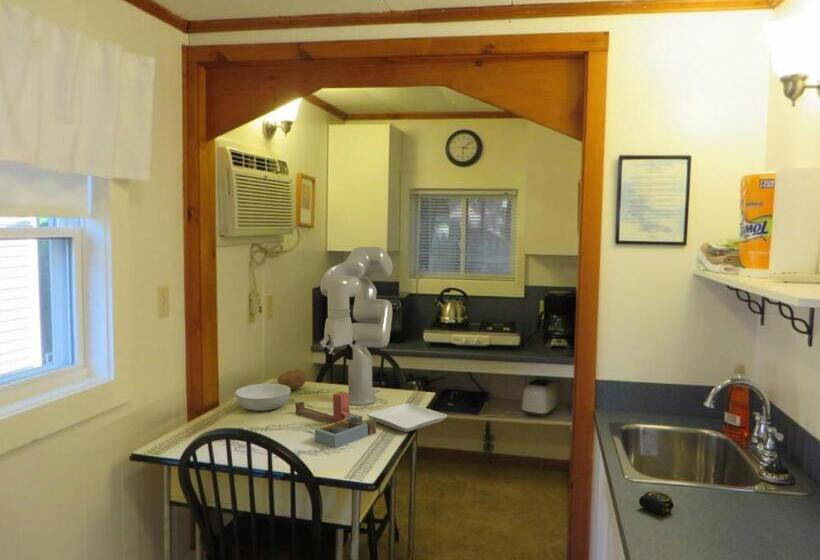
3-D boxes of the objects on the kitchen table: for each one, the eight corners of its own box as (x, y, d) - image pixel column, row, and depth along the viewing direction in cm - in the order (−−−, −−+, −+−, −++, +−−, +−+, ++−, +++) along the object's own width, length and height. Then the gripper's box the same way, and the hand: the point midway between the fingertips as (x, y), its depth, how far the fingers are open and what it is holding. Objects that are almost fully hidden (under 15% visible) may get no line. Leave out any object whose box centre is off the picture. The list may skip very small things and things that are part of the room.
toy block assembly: (341, 421, 227) (341, 391, 226) (363, 427, 220) (363, 397, 219) (305, 433, 214) (304, 402, 213) (327, 440, 207) (327, 408, 206)
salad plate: (449, 423, 228) (449, 413, 227) (406, 437, 213) (406, 427, 212) (407, 410, 243) (407, 402, 242) (365, 423, 228) (365, 413, 228)
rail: (301, 411, 240) (301, 401, 240) (375, 433, 216) (375, 421, 216) (295, 413, 238) (295, 403, 237) (369, 435, 214) (369, 423, 213)
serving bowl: (224, 412, 240) (223, 394, 240) (257, 397, 260) (256, 381, 259) (270, 418, 233) (270, 400, 232) (301, 403, 252) (300, 386, 251)
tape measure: (637, 508, 159) (637, 494, 159) (654, 502, 163) (654, 488, 163) (661, 519, 154) (661, 504, 153) (678, 512, 157) (678, 497, 157)
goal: (347, 430, 219) (347, 418, 219) (367, 436, 213) (367, 424, 213) (314, 441, 207) (314, 429, 207) (335, 448, 201) (335, 436, 201)
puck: (340, 434, 215) (339, 426, 215) (353, 438, 211) (353, 429, 211) (327, 439, 210) (327, 430, 210) (341, 443, 207) (341, 434, 206)
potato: (271, 391, 269) (271, 372, 269) (295, 384, 281) (295, 366, 280) (287, 395, 264) (287, 376, 263) (311, 387, 275) (311, 369, 274)
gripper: (348, 309, 231) (349, 356, 232) (312, 315, 217) (313, 365, 219) (363, 311, 226) (364, 359, 228) (328, 318, 213) (329, 368, 214)
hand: (339, 361), depth 223 cm, fingers open, 9 cm apart
